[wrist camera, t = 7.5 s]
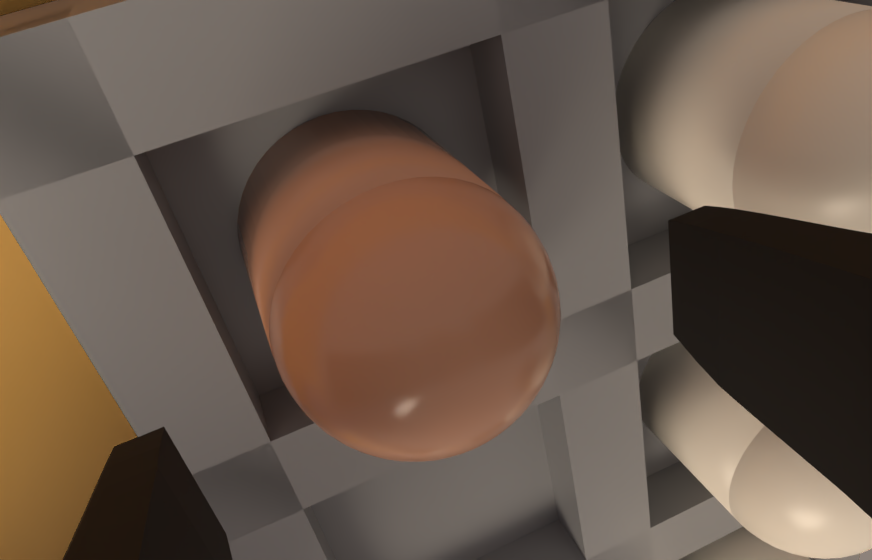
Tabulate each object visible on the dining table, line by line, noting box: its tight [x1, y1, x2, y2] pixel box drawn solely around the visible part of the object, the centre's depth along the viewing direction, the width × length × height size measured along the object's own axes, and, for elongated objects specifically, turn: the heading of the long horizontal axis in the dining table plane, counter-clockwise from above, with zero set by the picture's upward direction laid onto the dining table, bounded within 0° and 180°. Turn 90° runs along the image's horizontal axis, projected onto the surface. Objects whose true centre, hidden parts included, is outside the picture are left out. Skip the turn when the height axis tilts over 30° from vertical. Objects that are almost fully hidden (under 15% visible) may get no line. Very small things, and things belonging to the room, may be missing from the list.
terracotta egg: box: [237, 110, 561, 462], centre depth 12 cm, size 4×4×6 cm
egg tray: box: [0, 0, 872, 560], centre depth 17 cm, size 18×26×7 cm
